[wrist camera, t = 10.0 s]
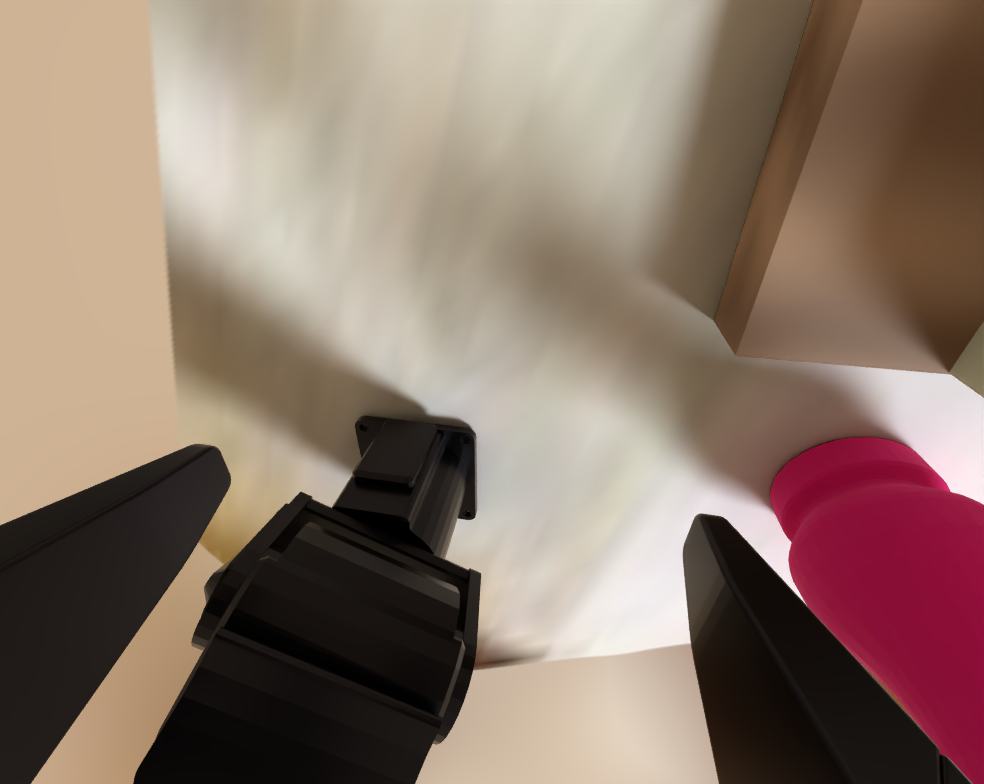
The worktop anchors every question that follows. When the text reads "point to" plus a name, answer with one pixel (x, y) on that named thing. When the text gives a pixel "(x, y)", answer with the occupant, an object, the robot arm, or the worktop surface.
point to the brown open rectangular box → (869, 194)
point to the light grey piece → (972, 363)
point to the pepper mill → (895, 578)
